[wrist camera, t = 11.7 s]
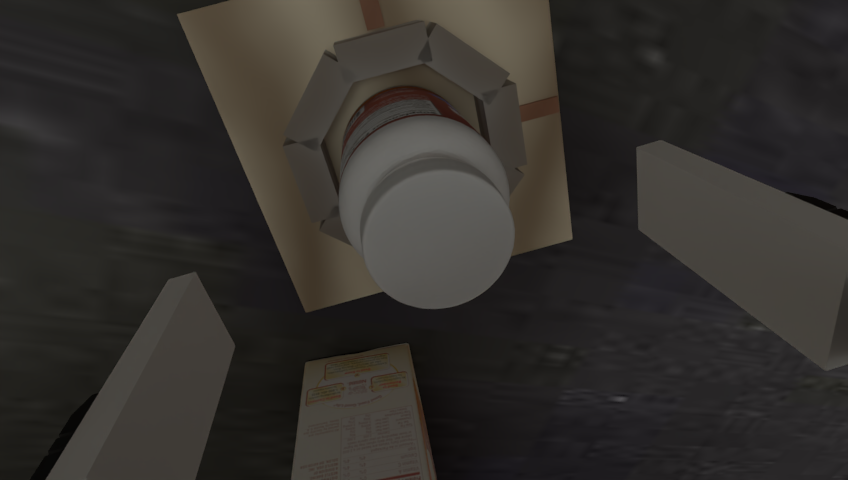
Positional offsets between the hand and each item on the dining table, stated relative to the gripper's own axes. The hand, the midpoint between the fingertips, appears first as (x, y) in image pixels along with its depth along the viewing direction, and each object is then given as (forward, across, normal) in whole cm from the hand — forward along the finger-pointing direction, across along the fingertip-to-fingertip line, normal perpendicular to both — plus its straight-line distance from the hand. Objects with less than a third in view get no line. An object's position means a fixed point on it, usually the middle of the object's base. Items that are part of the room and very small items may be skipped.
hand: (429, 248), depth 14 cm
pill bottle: (+11, +1, 0) cm, 11 cm away
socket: (+12, +1, 0) cm, 12 cm away
